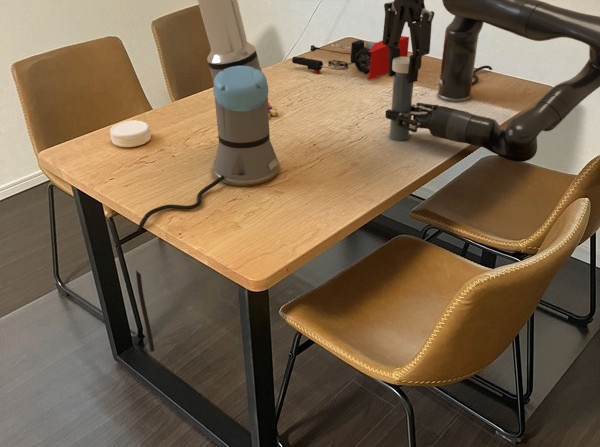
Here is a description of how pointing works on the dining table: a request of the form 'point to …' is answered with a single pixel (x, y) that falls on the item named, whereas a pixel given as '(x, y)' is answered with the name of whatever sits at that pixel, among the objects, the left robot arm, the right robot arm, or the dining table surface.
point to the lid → (401, 64)
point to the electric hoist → (360, 57)
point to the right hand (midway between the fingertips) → (391, 110)
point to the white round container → (130, 133)
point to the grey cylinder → (400, 104)
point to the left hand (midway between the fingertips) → (402, 78)
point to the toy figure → (271, 110)
